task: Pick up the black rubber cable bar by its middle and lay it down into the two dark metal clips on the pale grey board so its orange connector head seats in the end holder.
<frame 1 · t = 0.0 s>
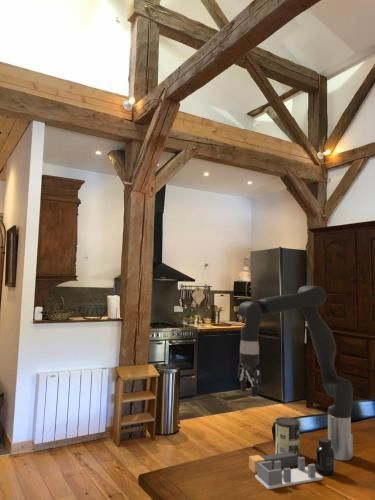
hand: (248, 393, 153), 29 cm above the table, fingers open, 8 cm apart
supplement bottle: (325, 472, 151), on the table
clip board: (288, 478, 145), on the table
coffee can: (287, 455, 166), on the table
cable: (278, 466, 155), on the table
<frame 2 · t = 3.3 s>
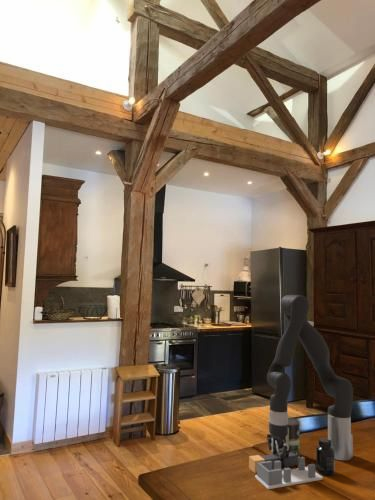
hand: (278, 465, 155), 0 cm above the table, fingers open, 3 cm apart
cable: (278, 466, 155), on the table, touching gripper
everything else where it was.
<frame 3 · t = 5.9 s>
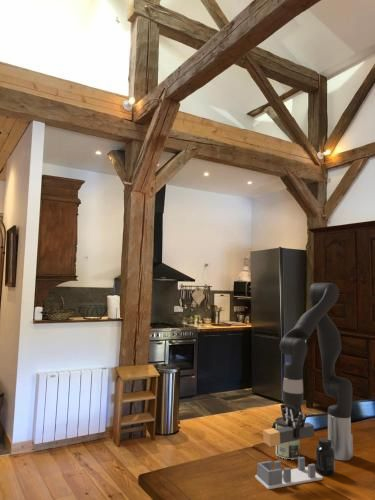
hand: (293, 436, 148), 15 cm above the table, fingers closed on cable, 3 cm apart
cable: (294, 438, 148), point 14 cm above the table, touching gripper
everything else where it was.
when the fingers open (2 cm above the table, at t = 8.0 s): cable stays where it is, resting on clip board.
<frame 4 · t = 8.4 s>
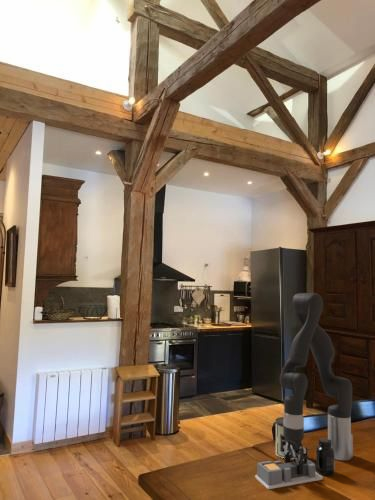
hand: (293, 469, 146), 3 cm above the table, fingers open, 7 cm apart
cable: (294, 475, 146), point 1 cm above the table, touching clip board
everything else where it was.
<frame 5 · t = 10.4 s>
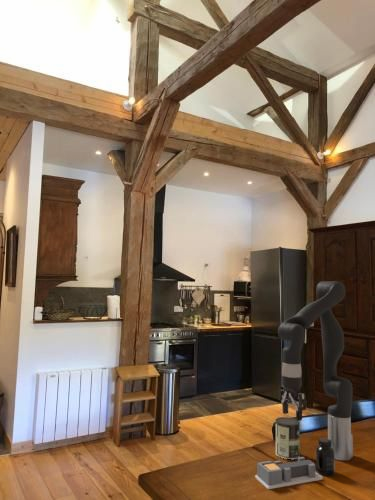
hand: (292, 416, 151), 21 cm above the table, fingers open, 8 cm apart
nothing on the table moved.
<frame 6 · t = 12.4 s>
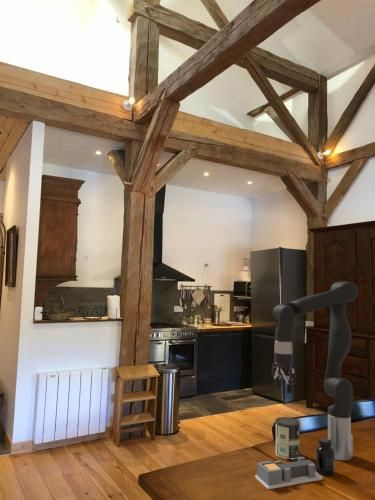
hand: (283, 390, 164), 28 cm above the table, fingers open, 8 cm apart
nothing on the table moved.
at the end: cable 0.5 cm from the target spot on the clip board, point 0.8 cm above the clip board's base; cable tilted 0°; the gripper is holding nothing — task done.
